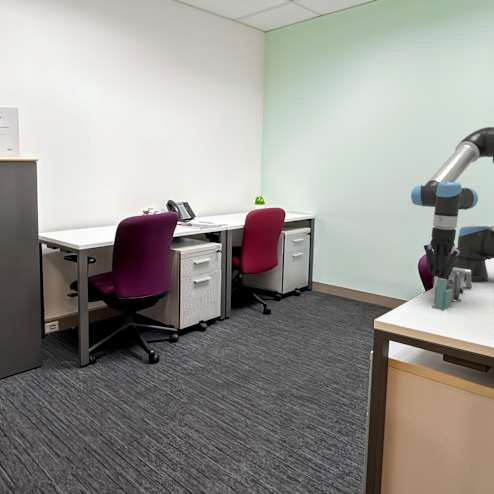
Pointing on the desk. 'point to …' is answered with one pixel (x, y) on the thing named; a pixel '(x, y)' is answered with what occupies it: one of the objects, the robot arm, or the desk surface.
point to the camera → (452, 282)
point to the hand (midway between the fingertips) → (436, 294)
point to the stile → (442, 295)
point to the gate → (449, 286)
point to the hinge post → (457, 285)
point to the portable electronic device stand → (462, 277)
